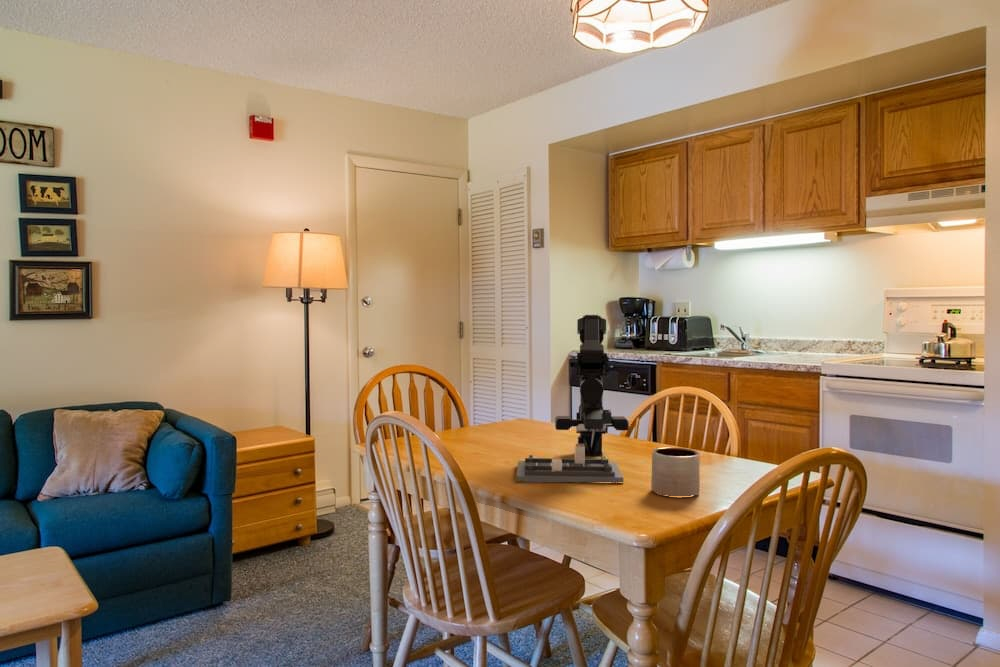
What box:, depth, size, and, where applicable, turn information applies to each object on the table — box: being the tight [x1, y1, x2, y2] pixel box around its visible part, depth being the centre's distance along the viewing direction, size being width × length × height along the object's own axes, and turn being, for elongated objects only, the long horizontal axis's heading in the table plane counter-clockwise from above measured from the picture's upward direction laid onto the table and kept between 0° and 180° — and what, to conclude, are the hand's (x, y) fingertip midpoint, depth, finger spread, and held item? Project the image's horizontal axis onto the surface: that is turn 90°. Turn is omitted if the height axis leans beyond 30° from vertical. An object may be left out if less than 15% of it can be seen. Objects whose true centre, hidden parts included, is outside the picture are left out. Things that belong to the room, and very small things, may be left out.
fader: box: [574, 443, 586, 464], centre depth 177 cm, size 2×4×5 cm, turn 177°
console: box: [516, 454, 624, 484], centre depth 174 cm, size 26×16×4 cm, turn 87°
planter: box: [650, 446, 701, 496], centre depth 157 cm, size 11×11×10 cm
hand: (591, 455), depth 177 cm, fingers closed
